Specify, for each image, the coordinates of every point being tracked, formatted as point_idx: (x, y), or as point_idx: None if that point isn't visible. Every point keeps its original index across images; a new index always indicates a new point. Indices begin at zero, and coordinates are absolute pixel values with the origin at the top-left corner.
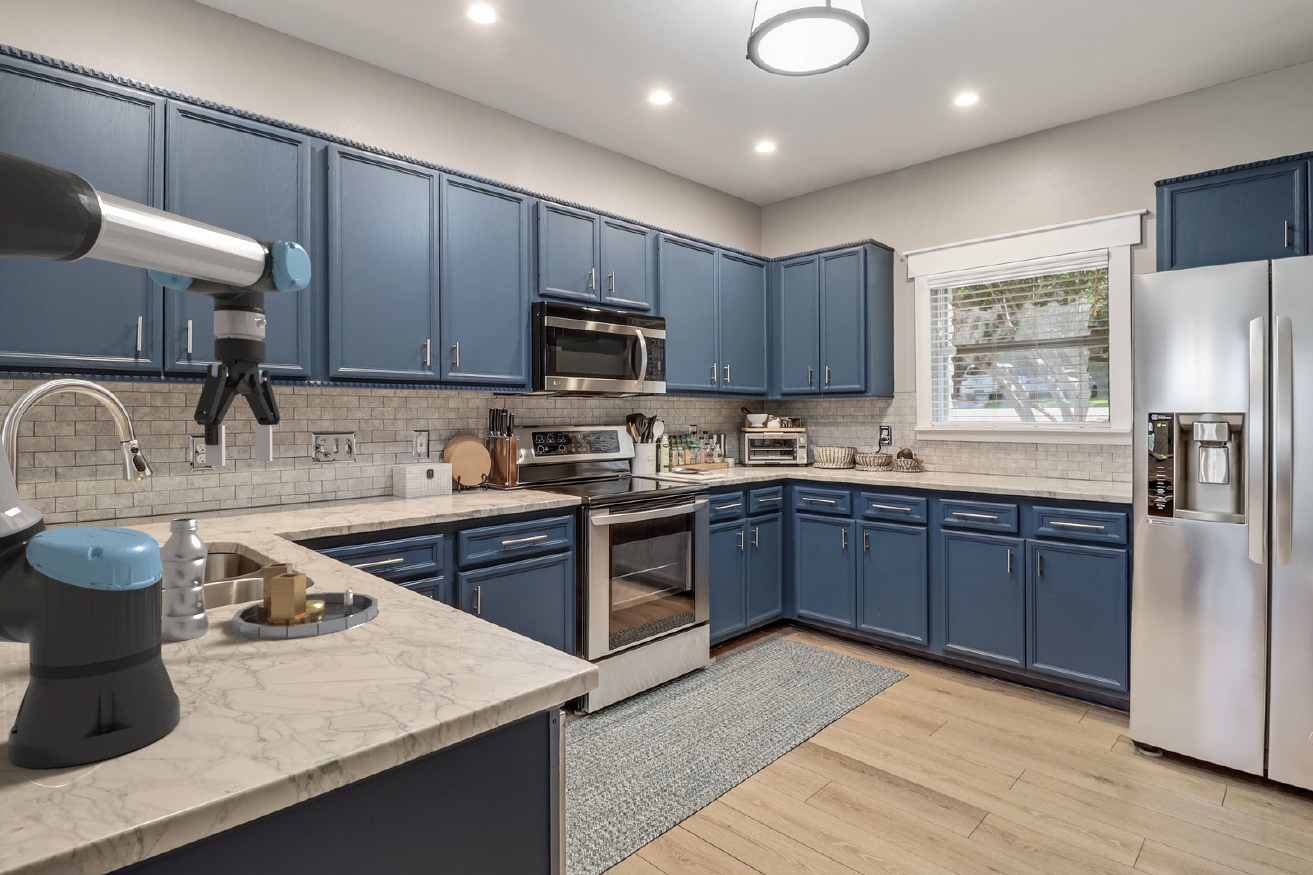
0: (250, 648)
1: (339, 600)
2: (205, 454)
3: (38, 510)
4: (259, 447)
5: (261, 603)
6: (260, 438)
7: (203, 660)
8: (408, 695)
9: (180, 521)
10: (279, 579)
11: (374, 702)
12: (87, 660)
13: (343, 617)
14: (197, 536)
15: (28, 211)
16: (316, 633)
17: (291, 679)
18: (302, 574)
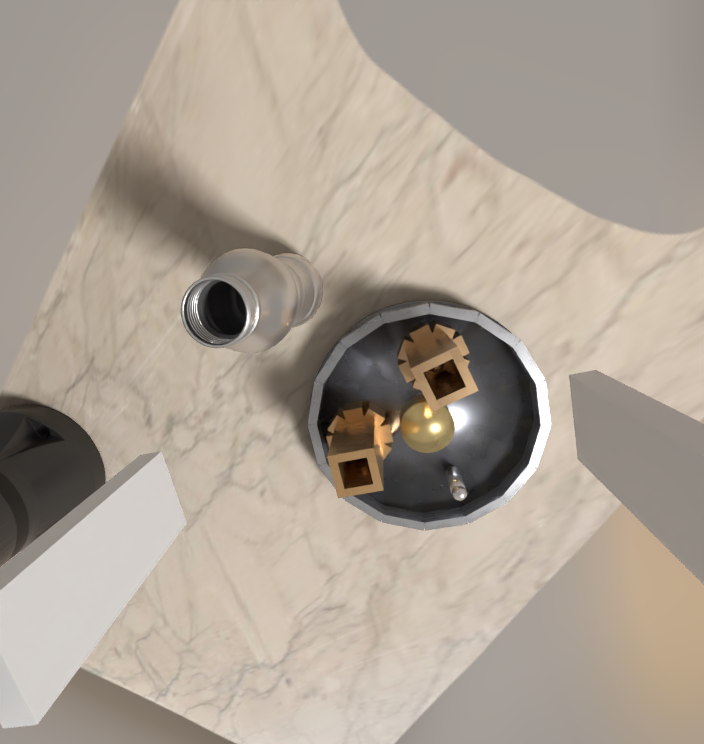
0: (298, 410)
1: (534, 406)
2: (105, 483)
3: None
4: (616, 433)
5: (424, 329)
6: (662, 472)
7: (238, 386)
8: (222, 669)
9: (188, 330)
10: (331, 470)
11: (197, 649)
12: None
13: (440, 470)
14: (250, 336)
15: None
16: None
17: (220, 538)
18: (372, 490)
